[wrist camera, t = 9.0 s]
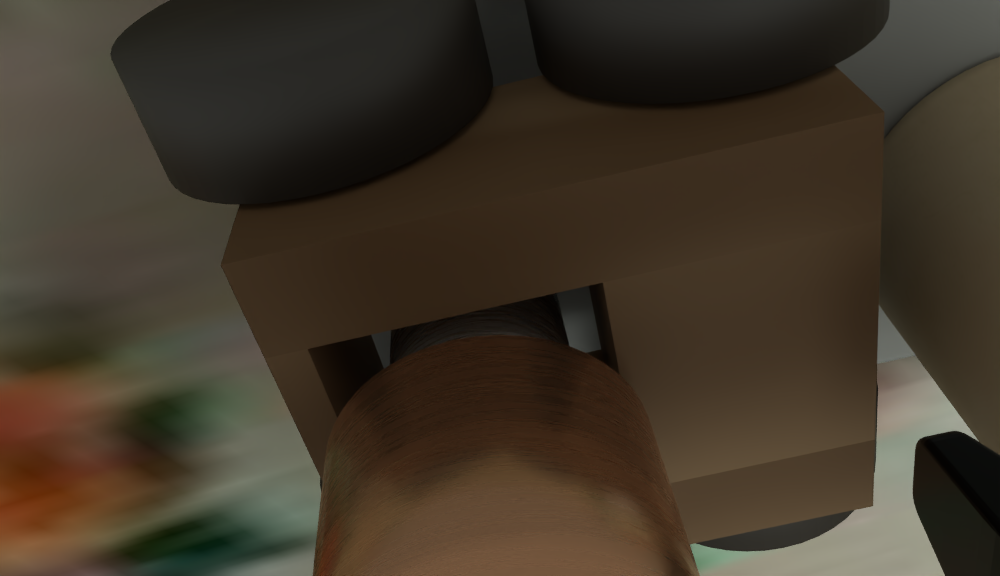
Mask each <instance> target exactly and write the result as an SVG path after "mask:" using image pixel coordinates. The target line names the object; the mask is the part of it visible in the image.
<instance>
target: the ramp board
mask: <svg viewBox="0 0 1000 576" xmlns="http://www.w3.org/2000/svg"><path fill="white" fill-rule="evenodd" d="M475 1H476V6H477V10H478V14H479V19H480V23H481V27H482V32H483V36H484V40H485V45H486V49H487V53H488V58H489V62H490V66H491V71H492V75H493V87H495V86H499V85H503V84H508V83H512V82H516V81H520V80H524V79H529V78H533V77H537V76H541V75H543V74H542V73H541V71H540V69H539V67H538V65H537V60H536V55H535V50H534V45H533V40H532V35H531V30H530V25H529V20H528V15H527V10H526V5H525V0H475ZM998 57H1000V0H890V10H889V17H888V20H887V22H886V24H885V26H884V28H883V29H882V31H881V32H880V33H879V34H878V35H877V37H876V38H875V39H874V40H872V41H871V42H870V43H869V44H868V45H867V46H865V47H864V48H863V49H861V50H860V51H858V52H857V53H855V54H854V55H852V56H850V57H849V58H847V59H845V60H843V61H841V62H839V63H838V64H836V65H835V66H836V67H837V68H838V69H839V70H840V71H841V72H843V73H844V74H845V75H846V76H847V77H848V78H849V79H850V80H851V81H852V82H853V83H854V84H855V85H856V86H858V87H859V88H860V89H861V90H862V91H863V92H864V93H865V94H866V95H867V96H868V97H869V98H870V99H871V100H873V101H874V102H875V103H876V104H877V105H878V106H879V107H880V108H881V109H882V110H883V111H884V112H885V114H884V139H885V137H886V136H887V135H888V134H889V132H890V131H891V130H892V129H893V127H894V126H895V125H896V124H897V123H898V122H899V121H900V120H901V119H902V118H903V117H904V116H905V115H906V113H908V112H909V111H910V110H911V109H912V108H913V107H914V106H915V105H917V104H918V103H919V102H920V101H921V100H922V99H923V98H925V97H926V96H927V95H929V94H930V93H931V92H933V91H934V90H936V89H937V88H938V87H940V86H941V85H942V84H944V83H946V82H947V81H949V80H951V79H952V78H954V77H956V76H957V75H959V74H961V73H963V72H964V71H966V70H969V69H971V68H973V67H975V66H977V65H979V64H982V63H984V62H986V61H989V60H992V59H995V58H998ZM557 296H558V300H559V304H560V308H561V313H562V317H563V321H564V325H565V329H566V334H567V338H568V342H569V346H570V347H573V348H575V349H578V350H580V351H583V352H585V353H587V352H591V351H596V350H600V349H601V346H600V341H599V336H598V330H597V325H596V320H595V315H594V310H593V305H592V300H591V295H590V289H589V286H585V287H581V288H576V289H572V290H567V291H563V292H559V293H557ZM371 336H372V338H373V341H374V343H375V346H376V349H377V351H378V354H379V357H380V359H381V362H382V365H383V367H384V369H385V368H386V367H388V366H389V365H390V340H391V330H390V331H385V332H381V333H376V334H372V335H371ZM911 356H916V355H915V354H914V352H913V351H912V350H911V348H910V347H909V346H908V344H907V343H906V341H905V340H904V339H903V337H902V336H901V335H900V333H899V332H898V331H897V329H896V328H895V327H894V325H893V324H892V322H891V321H890V320H889V318H888V317H887V316H886V314H885V313H884V311H883V310H882V309H881V307H880V306H879V317H878V351H877V364H879V363H883V362H888V361H893V360H897V359H902V358H906V357H911Z"/></svg>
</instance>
